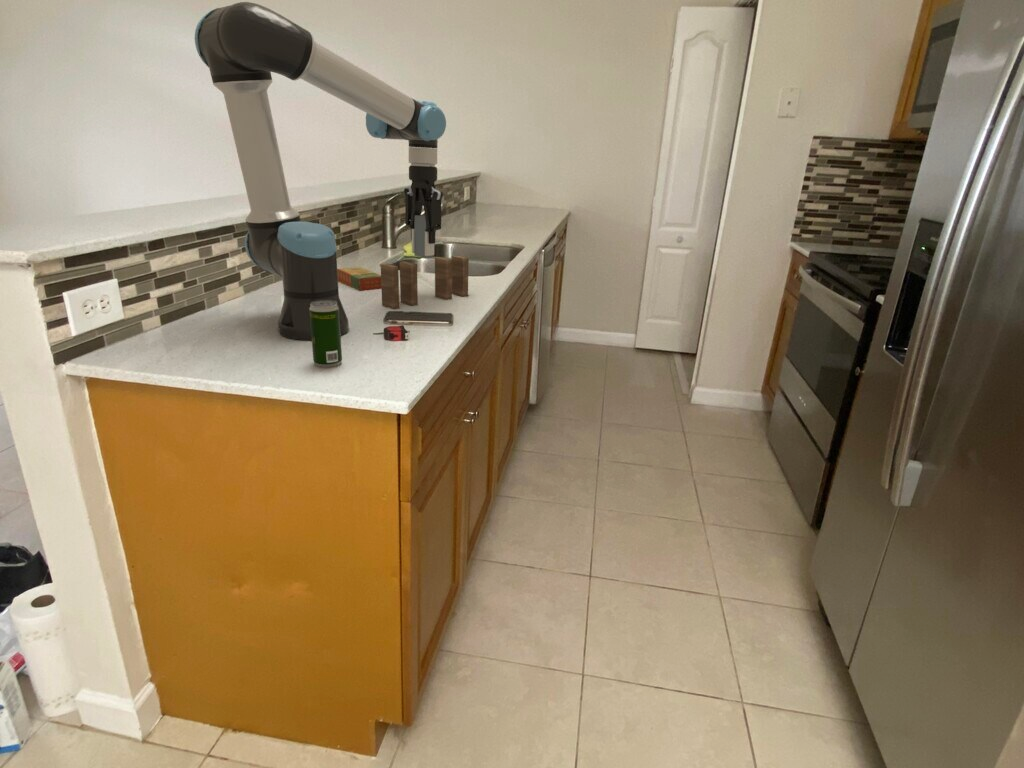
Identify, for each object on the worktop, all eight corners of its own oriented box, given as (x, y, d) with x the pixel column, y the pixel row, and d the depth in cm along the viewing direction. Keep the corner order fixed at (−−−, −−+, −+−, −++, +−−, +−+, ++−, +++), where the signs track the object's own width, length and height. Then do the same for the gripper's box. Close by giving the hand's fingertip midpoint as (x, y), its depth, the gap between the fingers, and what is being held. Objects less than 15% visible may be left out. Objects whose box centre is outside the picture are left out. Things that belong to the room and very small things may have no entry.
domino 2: (411, 306, 166) (410, 264, 162) (400, 302, 169) (399, 261, 166) (417, 305, 168) (417, 264, 164) (406, 301, 171) (405, 261, 167)
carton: (361, 279, 197) (361, 266, 196) (385, 289, 185) (385, 275, 184) (336, 282, 192) (335, 268, 191) (359, 292, 180) (358, 277, 179)
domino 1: (393, 309, 162) (391, 267, 158) (382, 305, 165) (380, 264, 162) (399, 308, 164) (398, 266, 160) (388, 304, 167) (386, 263, 163)
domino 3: (425, 258, 171) (426, 216, 167) (414, 255, 174) (414, 215, 170) (431, 257, 172) (431, 216, 168) (420, 255, 175) (420, 214, 172)
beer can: (347, 364, 121) (344, 303, 117) (323, 370, 118) (318, 308, 113) (332, 357, 125) (328, 298, 120) (308, 363, 121) (303, 302, 117)
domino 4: (446, 299, 174) (446, 260, 170) (435, 296, 178) (434, 257, 174) (451, 298, 176) (451, 259, 172) (440, 295, 179) (440, 257, 175)
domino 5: (462, 296, 178) (463, 258, 174) (451, 293, 182) (451, 255, 178) (468, 296, 180) (468, 257, 176) (456, 292, 183) (457, 255, 179)
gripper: (456, 167, 162) (454, 257, 170) (412, 164, 173) (413, 248, 181) (434, 166, 156) (433, 259, 164) (390, 163, 168) (392, 250, 176)
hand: (422, 253), depth 173 cm, fingers closed on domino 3, 5 cm apart
